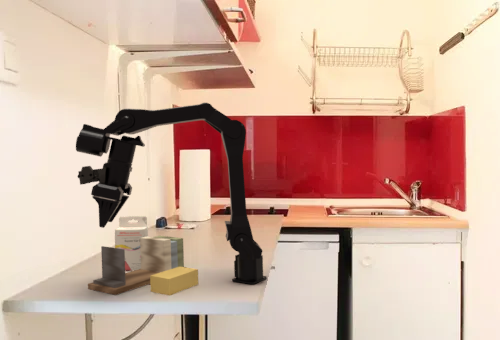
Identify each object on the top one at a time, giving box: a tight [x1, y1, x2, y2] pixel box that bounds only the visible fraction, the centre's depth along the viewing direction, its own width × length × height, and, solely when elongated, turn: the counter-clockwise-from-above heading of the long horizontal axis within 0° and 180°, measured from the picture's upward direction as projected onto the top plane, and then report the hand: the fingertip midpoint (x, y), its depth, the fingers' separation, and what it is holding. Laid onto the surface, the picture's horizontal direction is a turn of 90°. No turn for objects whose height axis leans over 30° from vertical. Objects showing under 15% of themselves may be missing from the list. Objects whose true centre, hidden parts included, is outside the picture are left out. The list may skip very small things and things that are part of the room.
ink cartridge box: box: [114, 215, 149, 272], centre depth 125 cm, size 9×5×15 cm, turn 92°
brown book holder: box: [87, 235, 188, 296], centre depth 113 cm, size 10×24×10 cm, turn 146°
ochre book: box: [149, 266, 199, 296], centre depth 105 cm, size 6×10×4 cm, turn 147°
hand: (105, 224), depth 106 cm, fingers open, 9 cm apart
